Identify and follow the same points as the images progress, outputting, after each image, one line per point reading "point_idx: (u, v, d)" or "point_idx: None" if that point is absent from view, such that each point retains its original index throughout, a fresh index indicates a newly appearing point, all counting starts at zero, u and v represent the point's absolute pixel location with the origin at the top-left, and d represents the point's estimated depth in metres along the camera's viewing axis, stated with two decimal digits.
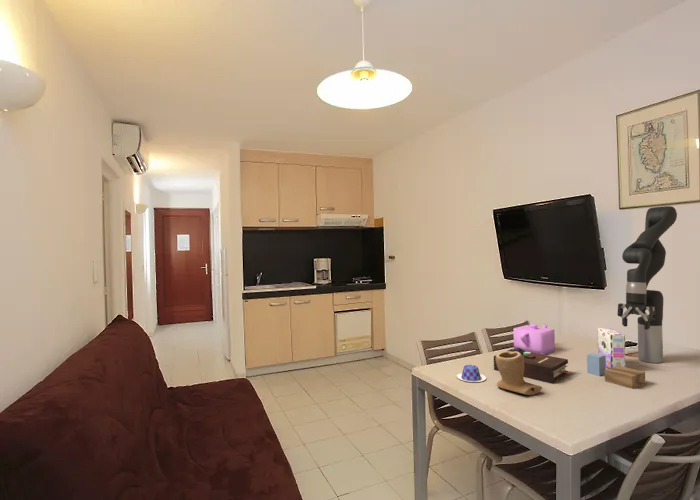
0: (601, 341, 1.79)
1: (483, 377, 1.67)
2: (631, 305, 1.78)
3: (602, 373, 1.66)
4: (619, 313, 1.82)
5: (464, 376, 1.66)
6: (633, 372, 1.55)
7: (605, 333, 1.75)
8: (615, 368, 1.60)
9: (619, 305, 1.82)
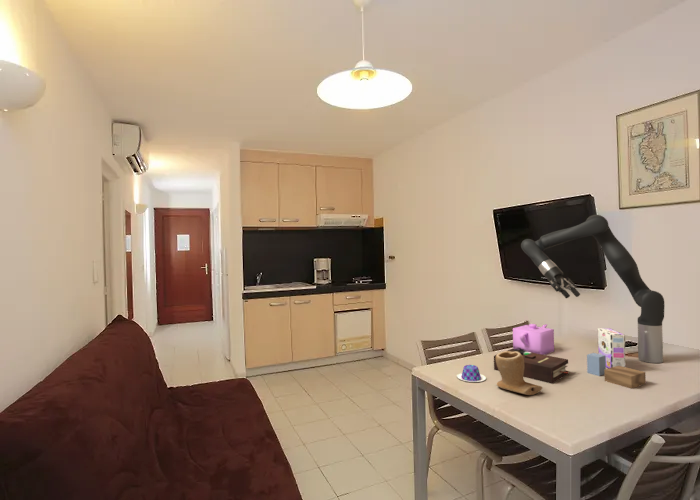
0: (601, 341, 1.79)
1: (483, 377, 1.67)
2: None
3: (602, 373, 1.66)
4: (570, 287, 1.91)
5: (464, 376, 1.66)
6: (632, 372, 1.55)
7: (605, 333, 1.75)
8: (615, 368, 1.60)
9: None
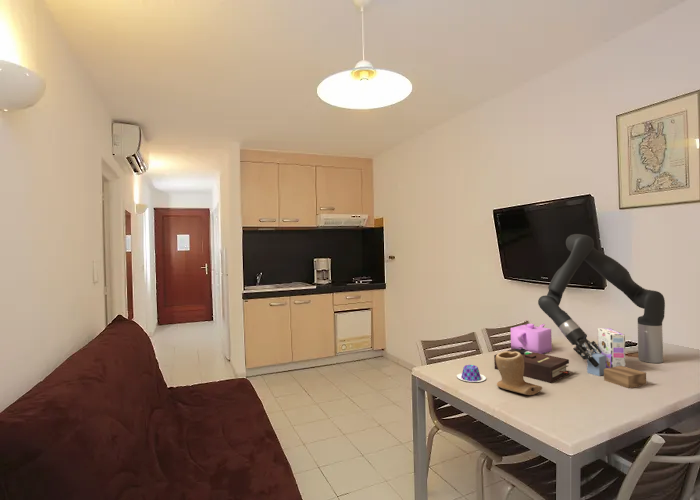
0: (601, 341, 1.79)
1: (483, 377, 1.67)
2: None
3: (602, 373, 1.66)
4: None
5: (464, 376, 1.66)
6: (632, 372, 1.55)
7: (605, 333, 1.75)
8: (616, 368, 1.60)
9: None
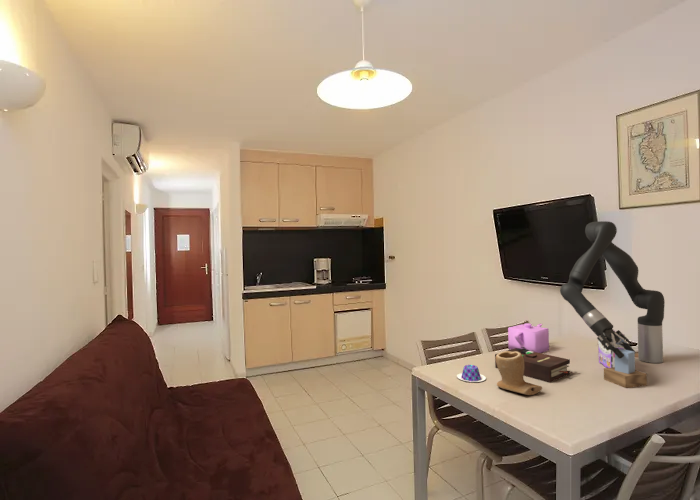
0: None
1: (482, 376, 1.68)
2: None
3: (631, 370, 1.55)
4: (622, 342, 1.63)
5: (465, 376, 1.65)
6: (632, 372, 1.54)
7: None
8: None
9: None
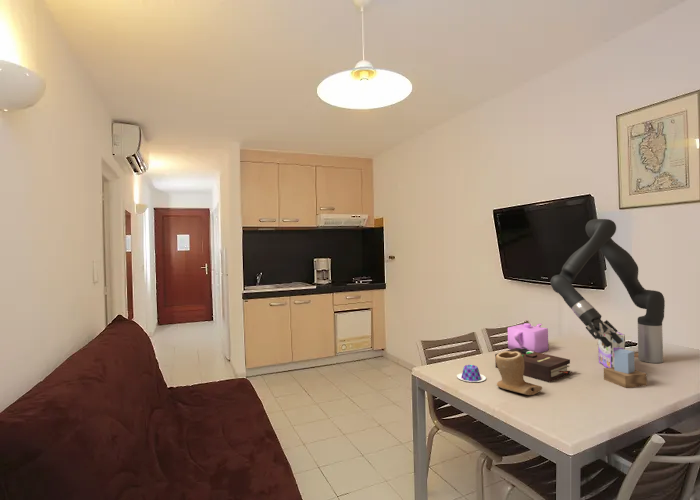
0: (601, 341, 1.79)
1: (482, 376, 1.68)
2: None
3: (631, 370, 1.55)
4: (610, 332, 1.67)
5: (465, 377, 1.65)
6: (632, 372, 1.55)
7: None
8: None
9: None
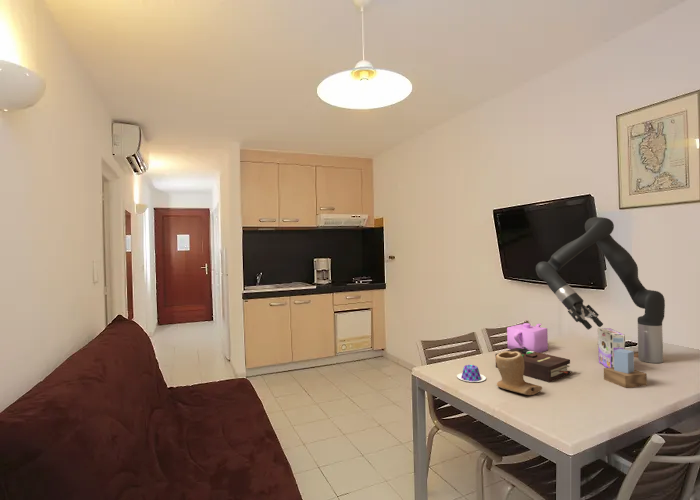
0: (601, 341, 1.79)
1: (482, 376, 1.68)
2: None
3: (630, 370, 1.55)
4: (592, 316, 1.73)
5: (466, 377, 1.65)
6: (632, 372, 1.55)
7: (605, 333, 1.75)
8: None
9: None
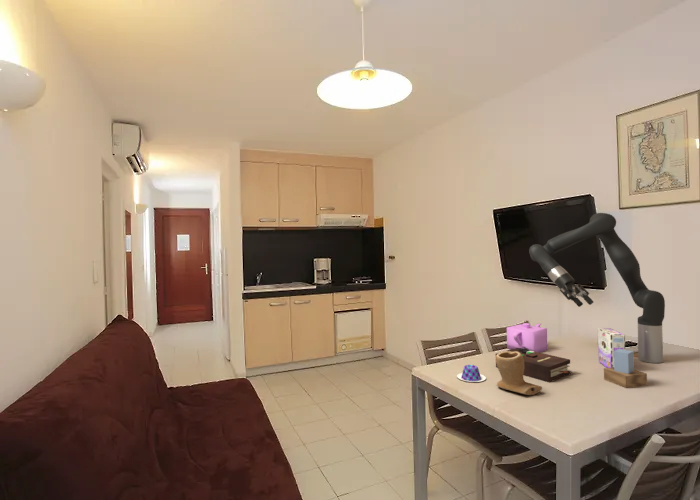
0: (601, 341, 1.79)
1: (482, 376, 1.68)
2: None
3: (631, 370, 1.55)
4: None
5: (466, 377, 1.65)
6: (632, 372, 1.54)
7: (605, 333, 1.75)
8: None
9: None
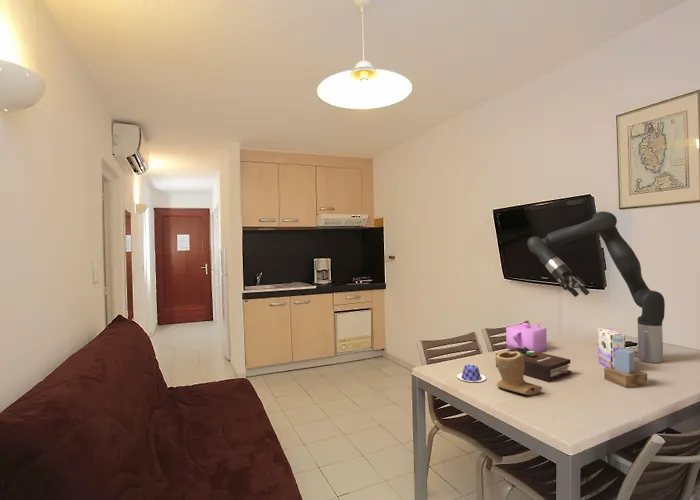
0: (601, 341, 1.79)
1: (482, 376, 1.68)
2: None
3: (631, 370, 1.55)
4: (579, 285, 1.86)
5: (466, 377, 1.65)
6: (632, 372, 1.54)
7: (605, 333, 1.75)
8: None
9: None
